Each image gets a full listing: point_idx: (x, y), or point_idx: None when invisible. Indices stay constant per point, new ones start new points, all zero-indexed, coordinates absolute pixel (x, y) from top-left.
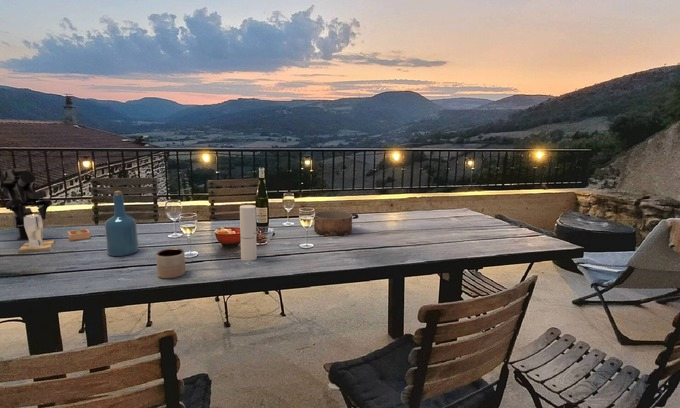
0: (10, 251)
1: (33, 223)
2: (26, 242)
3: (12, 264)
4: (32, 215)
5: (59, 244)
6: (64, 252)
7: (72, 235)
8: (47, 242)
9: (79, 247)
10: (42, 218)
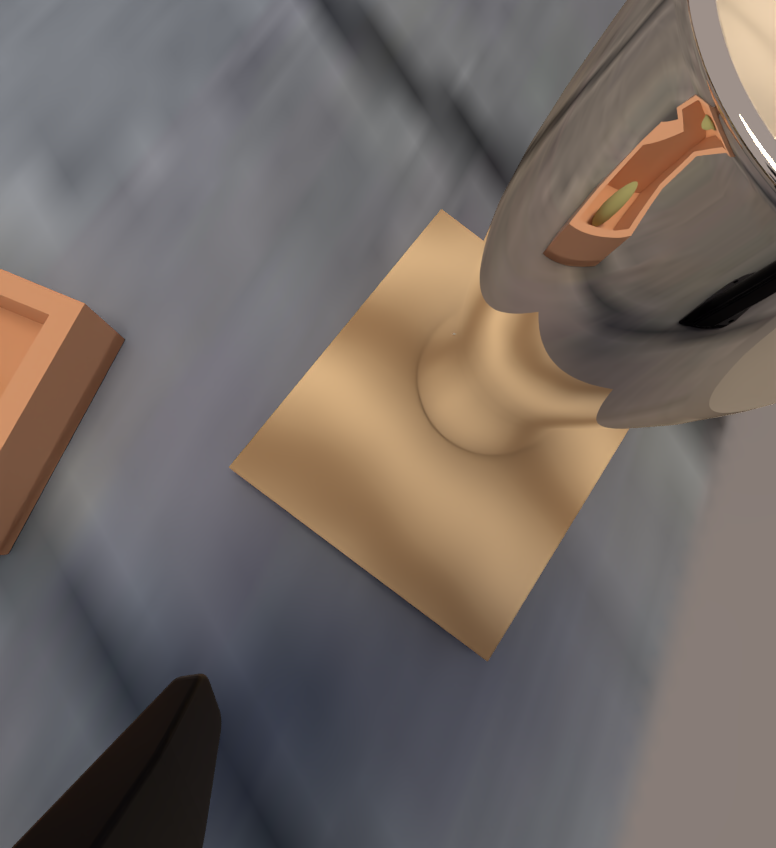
0: (661, 521)
1: (771, 57)
2: (492, 629)
3: None
4: None
5: (264, 341)
6: (395, 56)
7: (60, 295)
8: (356, 406)
9: (226, 67)
10: (212, 779)
